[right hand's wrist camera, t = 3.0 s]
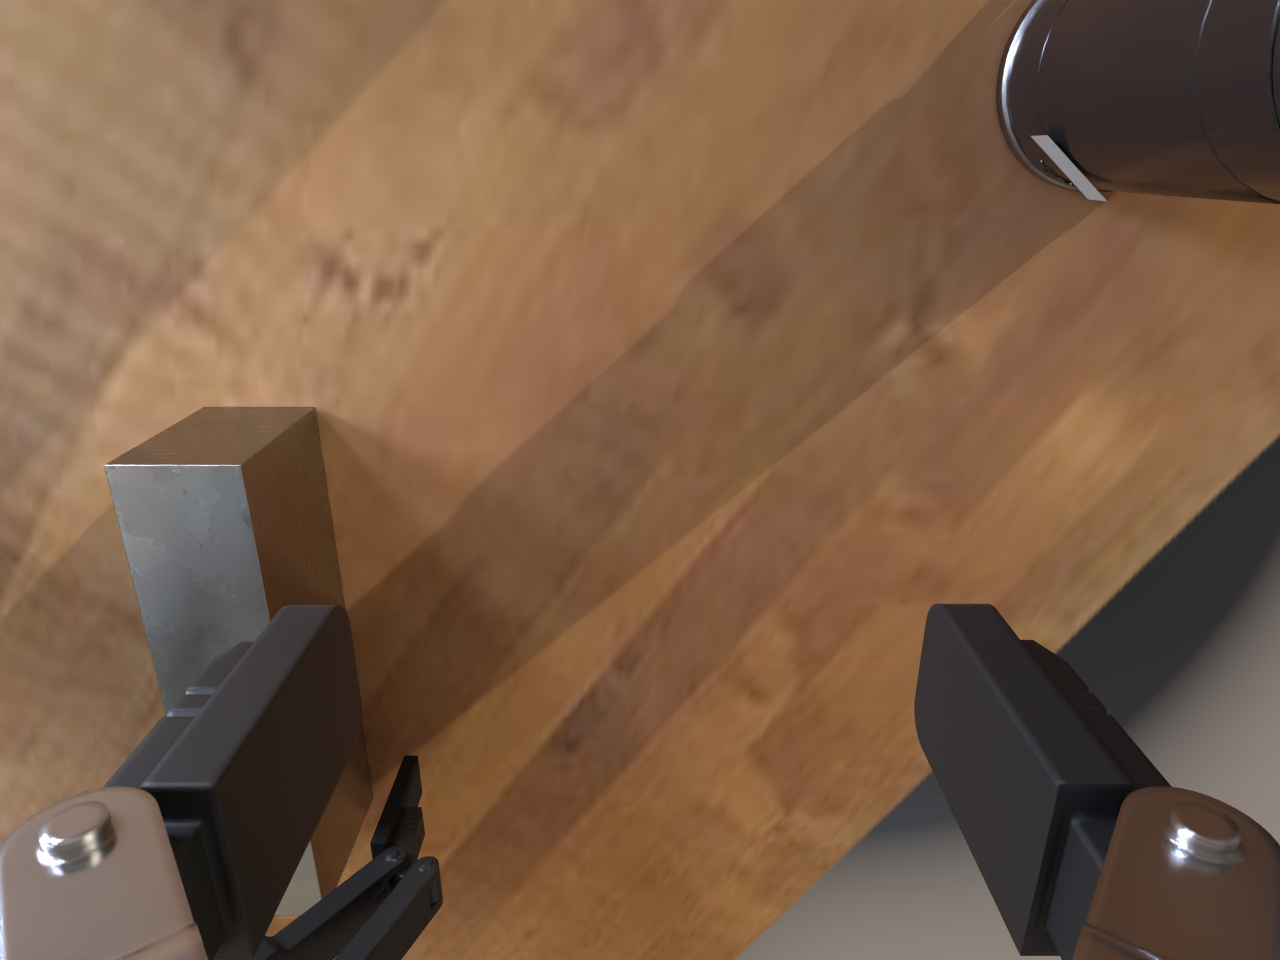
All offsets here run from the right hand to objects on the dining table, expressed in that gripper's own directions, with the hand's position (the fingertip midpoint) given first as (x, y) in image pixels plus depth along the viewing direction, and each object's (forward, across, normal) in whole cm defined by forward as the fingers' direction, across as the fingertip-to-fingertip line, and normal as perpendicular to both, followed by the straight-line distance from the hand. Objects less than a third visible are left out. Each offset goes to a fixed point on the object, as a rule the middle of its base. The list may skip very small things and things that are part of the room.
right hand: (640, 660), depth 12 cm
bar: (+31, -19, -18) cm, 41 cm away
